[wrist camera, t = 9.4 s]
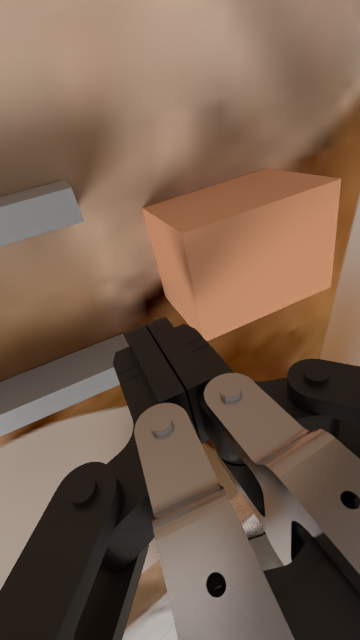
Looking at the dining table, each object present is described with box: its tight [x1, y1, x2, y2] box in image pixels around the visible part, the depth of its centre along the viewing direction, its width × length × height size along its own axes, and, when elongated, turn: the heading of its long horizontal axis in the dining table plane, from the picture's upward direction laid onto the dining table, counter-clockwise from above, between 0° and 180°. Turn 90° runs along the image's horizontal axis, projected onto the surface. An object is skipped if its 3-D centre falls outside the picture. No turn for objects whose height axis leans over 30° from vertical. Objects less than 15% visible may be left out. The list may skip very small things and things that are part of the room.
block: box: [142, 168, 341, 341], centre depth 15 cm, size 7×5×5 cm
